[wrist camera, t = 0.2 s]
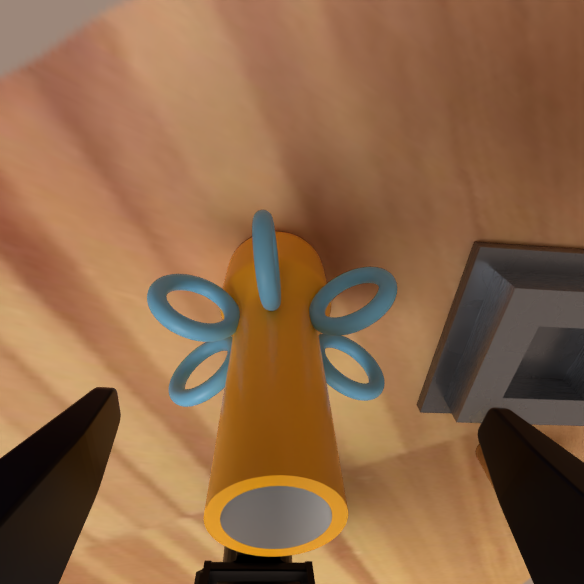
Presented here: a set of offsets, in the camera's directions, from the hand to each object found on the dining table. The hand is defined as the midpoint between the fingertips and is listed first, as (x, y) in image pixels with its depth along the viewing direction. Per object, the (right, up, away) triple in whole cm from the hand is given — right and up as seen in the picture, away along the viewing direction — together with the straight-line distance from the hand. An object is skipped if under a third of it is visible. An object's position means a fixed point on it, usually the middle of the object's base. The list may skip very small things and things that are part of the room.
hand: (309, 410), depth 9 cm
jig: (+17, 0, +18) cm, 25 cm away
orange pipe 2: (-1, +4, +15) cm, 15 cm away
